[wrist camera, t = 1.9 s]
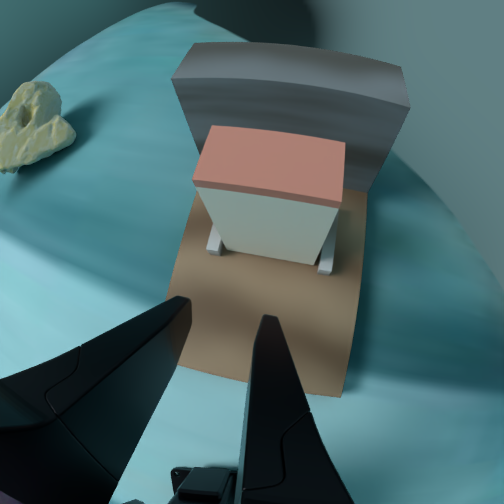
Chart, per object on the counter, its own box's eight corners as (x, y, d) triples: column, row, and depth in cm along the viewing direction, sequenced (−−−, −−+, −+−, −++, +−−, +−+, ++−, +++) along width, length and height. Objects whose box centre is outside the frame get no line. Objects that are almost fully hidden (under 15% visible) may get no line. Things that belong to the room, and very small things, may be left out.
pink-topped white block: (313, 265, 19) (341, 201, 11) (226, 249, 20) (191, 179, 12) (319, 224, 20) (345, 142, 12) (236, 210, 21) (211, 125, 12)
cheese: (99, 109, 32) (19, 78, 25) (94, 97, 25) (3, 63, 18) (53, 212, 33) (-23, 177, 26) (39, 221, 27) (-47, 180, 19)
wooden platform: (336, 393, 18) (395, 439, 8) (160, 356, 20) (65, 359, 9) (363, 163, 24) (400, 66, 13) (220, 141, 25) (194, 43, 15)
